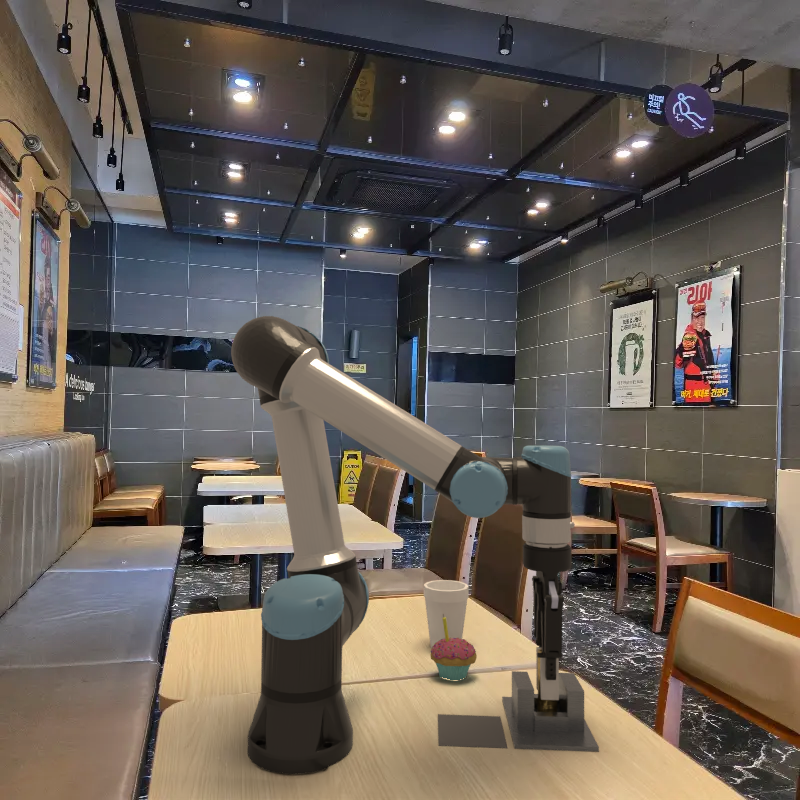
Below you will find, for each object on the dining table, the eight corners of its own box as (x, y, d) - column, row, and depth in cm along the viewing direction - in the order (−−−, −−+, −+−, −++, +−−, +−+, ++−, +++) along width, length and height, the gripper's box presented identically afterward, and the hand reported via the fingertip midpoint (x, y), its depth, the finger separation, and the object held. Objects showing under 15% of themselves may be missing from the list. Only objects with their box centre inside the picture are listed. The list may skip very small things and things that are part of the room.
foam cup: (468, 641, 138) (468, 580, 138) (468, 656, 128) (468, 592, 129) (424, 639, 139) (425, 579, 139) (421, 654, 129) (422, 590, 130)
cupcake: (438, 689, 112) (439, 621, 113) (424, 671, 120) (424, 607, 121) (483, 684, 114) (483, 617, 115) (466, 667, 123) (466, 604, 123)
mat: (438, 748, 92) (438, 745, 92) (437, 716, 102) (437, 714, 102) (507, 750, 91) (507, 748, 91) (500, 718, 101) (500, 716, 101)
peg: (539, 721, 97) (539, 655, 98) (536, 712, 100) (536, 648, 101) (559, 722, 97) (559, 656, 98) (555, 713, 100) (555, 649, 101)
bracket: (514, 751, 91) (514, 701, 91) (502, 702, 107) (502, 660, 107) (598, 754, 90) (598, 704, 91) (573, 705, 106) (573, 662, 107)
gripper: (582, 553, 92) (583, 718, 91) (560, 534, 108) (561, 674, 107) (530, 552, 92) (531, 716, 91) (516, 534, 108) (516, 673, 107)
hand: (547, 693), depth 99 cm, fingers closed on peg, 3 cm apart
